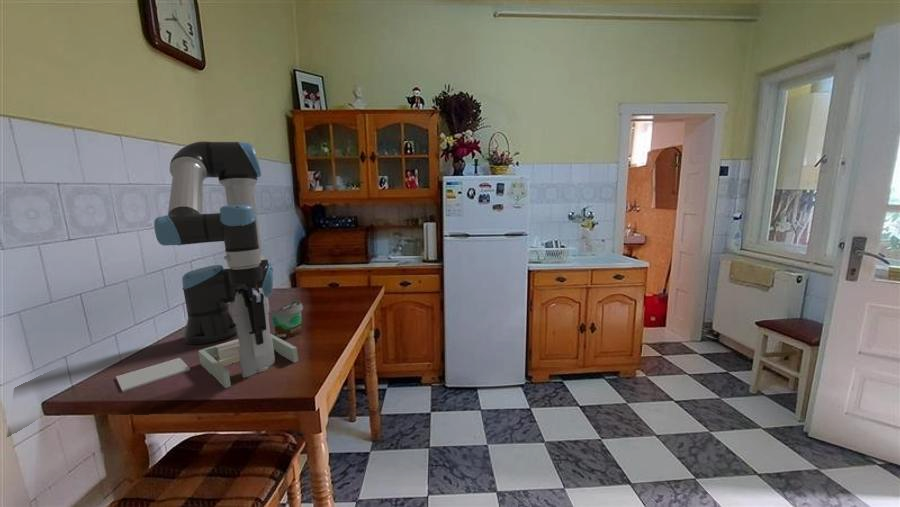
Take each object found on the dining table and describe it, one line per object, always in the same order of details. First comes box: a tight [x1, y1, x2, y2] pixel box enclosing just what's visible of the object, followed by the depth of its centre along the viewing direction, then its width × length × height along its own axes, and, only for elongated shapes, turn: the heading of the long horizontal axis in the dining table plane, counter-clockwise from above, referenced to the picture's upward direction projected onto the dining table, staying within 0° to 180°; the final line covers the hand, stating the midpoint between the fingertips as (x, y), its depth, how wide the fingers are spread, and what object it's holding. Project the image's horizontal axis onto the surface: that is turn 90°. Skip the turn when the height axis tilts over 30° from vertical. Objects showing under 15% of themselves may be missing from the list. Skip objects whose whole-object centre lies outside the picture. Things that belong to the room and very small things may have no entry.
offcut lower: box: [213, 354, 240, 367], centre depth 107 cm, size 6×12×2 cm, turn 136°
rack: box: [198, 332, 299, 389], centre depth 103 cm, size 21×18×4 cm
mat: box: [115, 357, 191, 393], centre depth 99 cm, size 11×14×1 cm
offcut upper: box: [215, 339, 240, 359], centre depth 107 cm, size 5×11×2 cm, turn 132°
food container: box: [270, 299, 304, 340], centre depth 123 cm, size 12×6×10 cm, turn 168°
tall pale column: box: [230, 288, 276, 379], centre depth 97 cm, size 11×4×22 cm, turn 156°
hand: (256, 352), depth 98 cm, fingers closed on tall pale column, 4 cm apart
